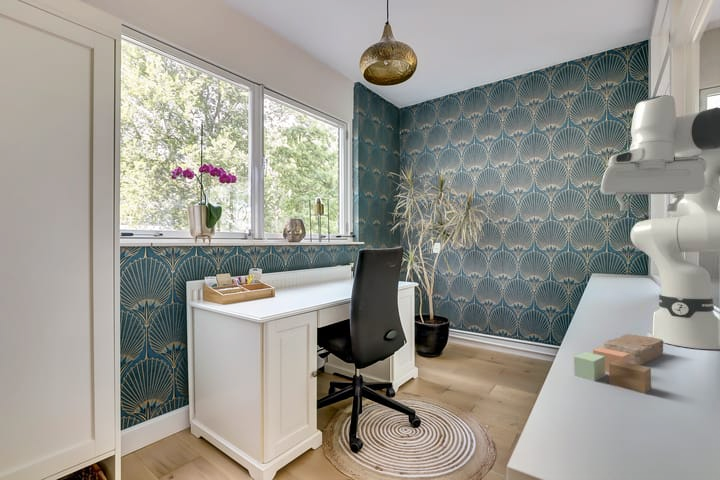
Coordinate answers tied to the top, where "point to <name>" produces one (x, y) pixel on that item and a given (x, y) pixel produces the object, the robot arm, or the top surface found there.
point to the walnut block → (630, 376)
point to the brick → (636, 347)
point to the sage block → (589, 366)
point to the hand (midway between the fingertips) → (647, 210)
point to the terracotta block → (611, 356)
